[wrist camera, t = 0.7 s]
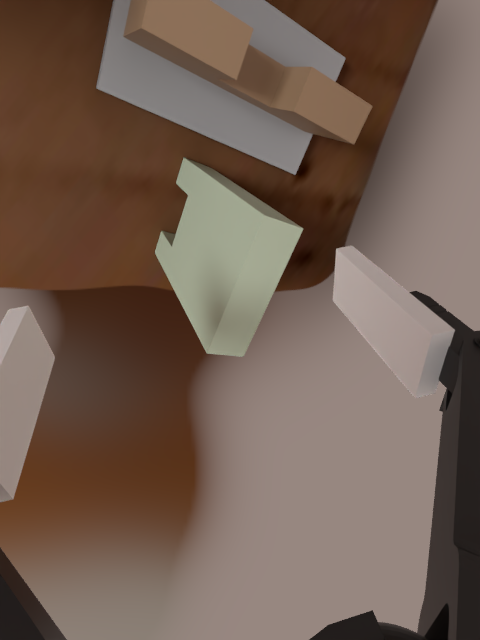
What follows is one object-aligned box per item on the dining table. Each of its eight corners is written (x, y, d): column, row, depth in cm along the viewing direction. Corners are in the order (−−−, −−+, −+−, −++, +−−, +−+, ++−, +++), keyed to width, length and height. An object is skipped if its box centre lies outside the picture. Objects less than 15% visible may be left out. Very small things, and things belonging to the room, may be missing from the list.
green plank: (154, 252, 39) (206, 353, 25) (183, 157, 35) (264, 215, 21) (181, 258, 40) (243, 356, 27) (211, 168, 36) (303, 228, 23)
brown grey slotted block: (96, 88, 30) (108, 94, 22) (130, -86, 25) (158, -148, 18) (288, 171, 40) (339, 195, 33) (336, 58, 35) (407, 56, 28)
